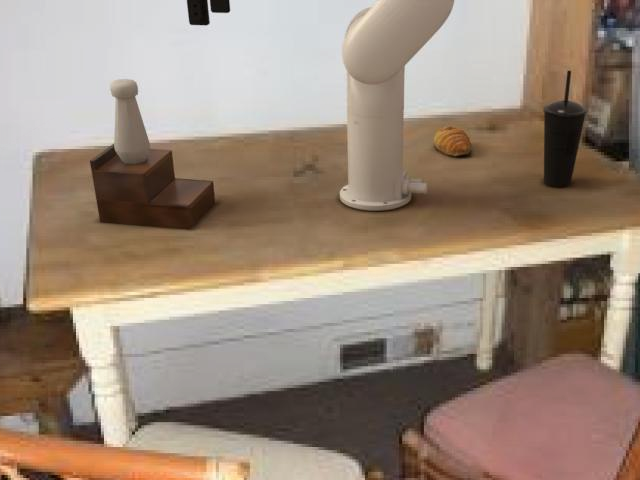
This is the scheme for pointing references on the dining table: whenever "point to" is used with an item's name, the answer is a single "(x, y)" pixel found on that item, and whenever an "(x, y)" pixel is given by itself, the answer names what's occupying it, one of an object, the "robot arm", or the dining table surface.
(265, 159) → the dining table surface
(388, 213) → the dining table surface
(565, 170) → the drinking cup
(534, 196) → the dining table surface
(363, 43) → the robot arm
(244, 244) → the dining table surface
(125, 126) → the salt shaker
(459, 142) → the pastry
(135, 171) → the spice rack
